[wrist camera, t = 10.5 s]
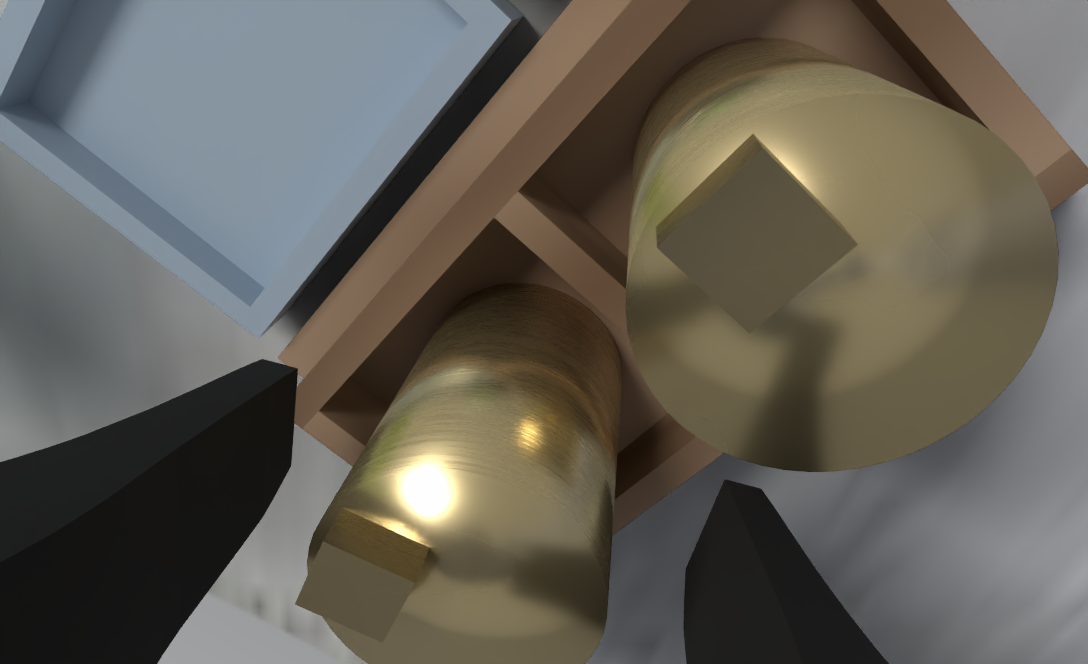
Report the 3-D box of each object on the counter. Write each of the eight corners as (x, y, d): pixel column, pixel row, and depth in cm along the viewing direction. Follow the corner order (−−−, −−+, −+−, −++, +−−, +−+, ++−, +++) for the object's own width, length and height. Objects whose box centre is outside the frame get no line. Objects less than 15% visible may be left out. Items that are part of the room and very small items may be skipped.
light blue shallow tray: (523, 15, 13) (511, 20, 11) (286, 311, 16) (258, 338, 15) (203, -298, 11) (152, -328, 10) (14, 99, 14) (-41, 110, 13)
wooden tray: (1056, 163, 13) (1136, 200, 10) (557, 545, 18) (546, 619, 16) (742, -203, 11) (765, -244, 9) (293, 340, 16) (242, 394, 14)
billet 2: (925, 157, 12) (1193, 334, 6) (740, 311, 14) (812, 569, 8) (761, -21, 11) (892, -12, 5) (585, 167, 13) (536, 334, 7)
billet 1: (658, 339, 14) (666, 598, 8) (568, 481, 16) (520, 778, 10) (474, 247, 14) (342, 448, 8) (402, 403, 16) (252, 663, 10)
